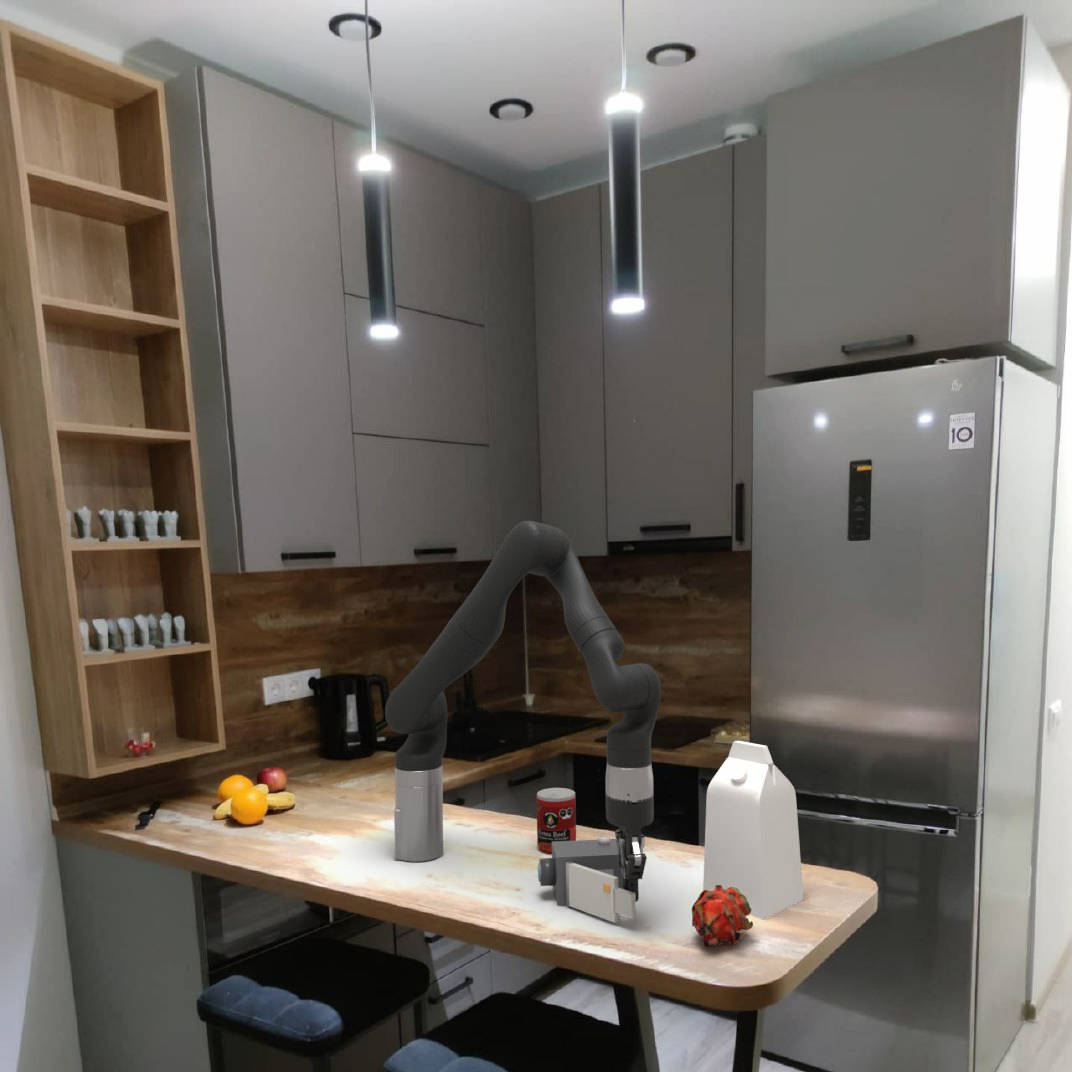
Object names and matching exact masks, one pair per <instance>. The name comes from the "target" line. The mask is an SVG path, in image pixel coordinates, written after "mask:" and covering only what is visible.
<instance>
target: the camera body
mask: <svg viewBox="0 0 1072 1072" xmlns="http://www.w3.org/2000/svg"><path fill="white" fill-rule="evenodd" d="M566 862H573V863H575V864H578V865H581V866H585V867H588V868H591V869H594V870H597V871H600V872H603V873H606V874H609V875H612V876H615V877H618V888H621V889H623V875H622V873H621V867H620V865H619V858H618V849H617V841H616V838H611V837H610V836H609V835H599V836H598V839H581V840H580V839H579V840H577V839H576V841H554V842H552V855H551V857H546V858H542V857H541V858H539V860H538V863H537V877H538V878H537V879H538V883H539V884H540V887H551V888H552V891H553V895H554V899H555V902H557V903H556V906H557V905H558V907H560V906H559V905H565V906H567V905H566Z"/></svg>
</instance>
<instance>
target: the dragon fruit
mask: <svg viewBox="0 0 1072 1072" xmlns="http://www.w3.org/2000/svg"><path fill="white" fill-rule="evenodd" d="M750 913H751V908H750V907H749V903H748V901H747V899H746V897H745V896H744V895H743V894H741V893H740V892H739V890H738V889H737V888H735V887H729V888H727V889H726V890H725V889H723V887H722V886H721V885H715V890H714V891H708V890H704V891H703V890H702V891H701V893H700V894H699V895H698V897H697V899H696V900H695V902H694V904H692V907H691V915H692V918H691V926H692V928H694V929H695V931H696V932H697V934H698V935H699V937H702V942H703V946H704V947H705V948H706V947H707V946H717V947H718V946H720V945H722V944H723V943H724V941H728V943H729V944H730V945H732V946H735V945H736V944H738V943H739V942H740V941H741V939H742V937H743V936H744V935H745V932H743V931H749V930H750V929H752V928H753V927H754V926H753V925H754V923H753V921H750V920H749V918H748V917H747V916H750V915H749V914H750Z"/></svg>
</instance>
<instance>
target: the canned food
mask: <svg viewBox="0 0 1072 1072" xmlns="http://www.w3.org/2000/svg"><path fill="white" fill-rule="evenodd" d="M576 804H577V802H576V792H575V791H574V790H573V789H570V788H565V787H549V788H544V789H541V790H539V791H537V793H536V835H537V836H536V837H537V838H536V841H537V842H536V843H537V849H538V850H539V851H540V852H541V853H542V854H545V853H546V855H551V854H552V842H554V841H577V809H576V807H577V805H576Z"/></svg>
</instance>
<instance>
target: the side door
mask: <svg viewBox="0 0 1072 1072" xmlns="http://www.w3.org/2000/svg"><path fill="white" fill-rule="evenodd" d="M636 903H637V902H636V896H635V893H633V892H630V891H627V890H624V889H621V888H618V877H615V876H612V875H609V874H606V873H603V872H600V871H597V870H594V869H591V868H588V867H585V866H581V865H578V864H575V863H573V862H566V905H565V906H567V907H570V908H571V907H572V908H573V909H577V910H580V911H582V912H584V913H587V914H590V915H593V916H596V917H598V918H601V919H603V920H606V921H609V922H612V923H613V924H615V923H618V922H619V921H620V916H624V917H626V918H629V919H634V918H636V917H637V916H636V914H637V910H636V909H637V907H636V906H637V905H636Z"/></svg>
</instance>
